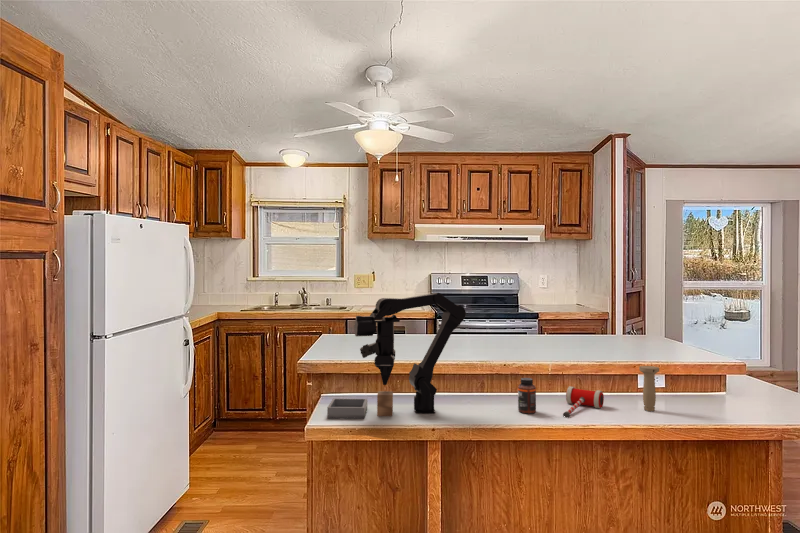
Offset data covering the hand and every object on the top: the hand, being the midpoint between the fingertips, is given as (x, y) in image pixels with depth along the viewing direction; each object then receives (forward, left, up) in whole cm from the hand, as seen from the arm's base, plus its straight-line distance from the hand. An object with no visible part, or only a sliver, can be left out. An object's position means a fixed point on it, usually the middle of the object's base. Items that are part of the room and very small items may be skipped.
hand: (385, 381), depth 167 cm
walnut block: (0, 0, -11) cm, 11 cm away
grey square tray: (+13, 0, -11) cm, 16 cm away
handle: (-91, -7, -11) cm, 92 cm away
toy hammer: (-68, -8, -11) cm, 70 cm away
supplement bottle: (-48, -4, -11) cm, 50 cm away
